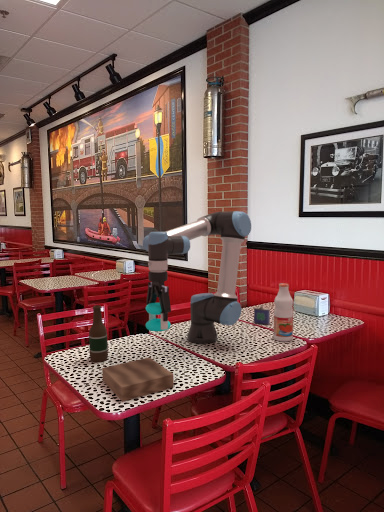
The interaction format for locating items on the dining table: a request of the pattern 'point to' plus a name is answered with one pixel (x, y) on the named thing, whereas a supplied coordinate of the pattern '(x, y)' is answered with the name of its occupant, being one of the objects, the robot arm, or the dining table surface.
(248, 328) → the dining table surface
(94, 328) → the beer bottle
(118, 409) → the dining table surface
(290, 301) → the fruit juice
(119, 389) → the walnut stand
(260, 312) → the flask
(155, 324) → the donuts
